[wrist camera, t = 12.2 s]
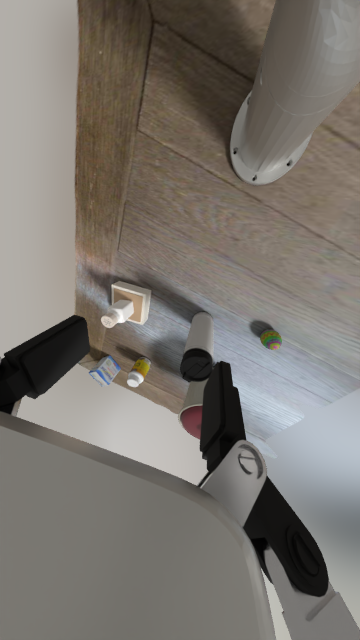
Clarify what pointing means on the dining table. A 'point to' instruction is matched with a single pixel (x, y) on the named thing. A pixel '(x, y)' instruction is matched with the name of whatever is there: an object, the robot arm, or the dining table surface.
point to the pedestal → (133, 299)
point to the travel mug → (198, 349)
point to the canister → (193, 409)
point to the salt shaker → (118, 313)
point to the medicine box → (105, 371)
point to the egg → (271, 339)
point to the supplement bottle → (138, 371)
